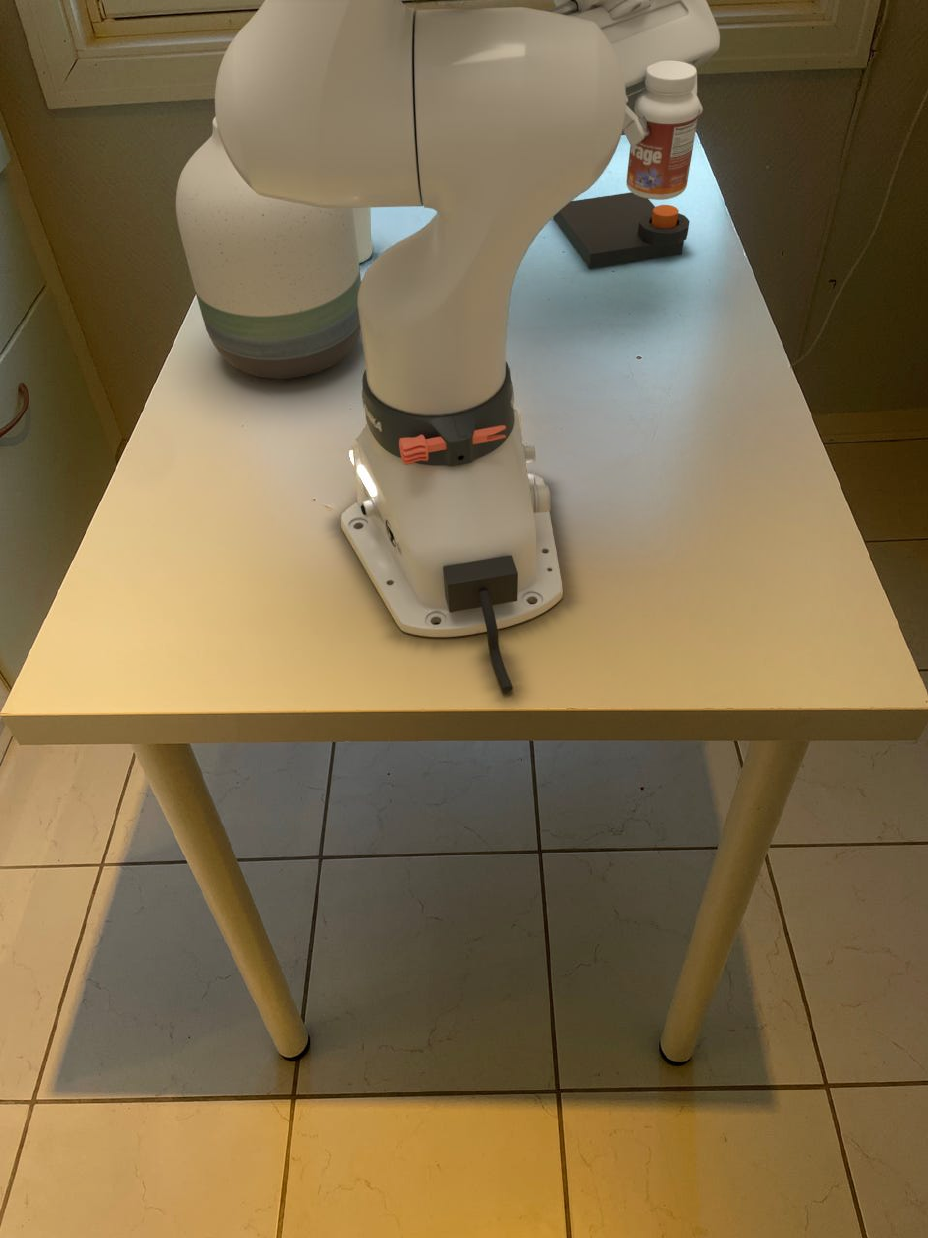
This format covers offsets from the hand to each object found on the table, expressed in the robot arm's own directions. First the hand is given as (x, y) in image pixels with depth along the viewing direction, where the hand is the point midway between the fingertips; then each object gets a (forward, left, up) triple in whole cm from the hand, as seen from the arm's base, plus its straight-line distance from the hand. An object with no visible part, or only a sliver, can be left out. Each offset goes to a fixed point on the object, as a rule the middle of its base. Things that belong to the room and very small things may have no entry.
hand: (668, 129), depth 91 cm
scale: (+18, -3, -20) cm, 27 cm away
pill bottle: (+1, 0, -6) cm, 6 cm away
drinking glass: (+23, +30, -20) cm, 43 cm away
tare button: (+13, -7, -16) cm, 22 cm away
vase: (+4, +40, -20) cm, 45 cm away
